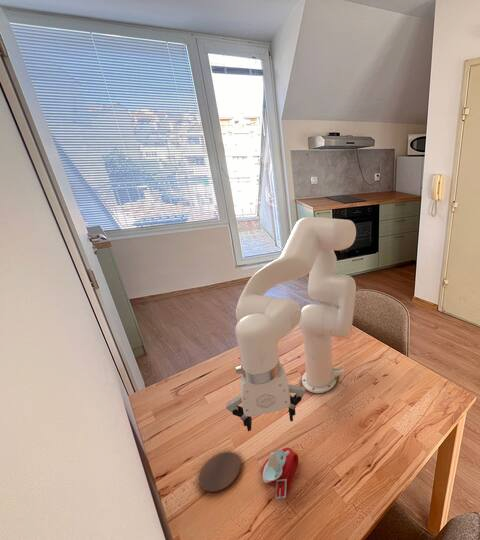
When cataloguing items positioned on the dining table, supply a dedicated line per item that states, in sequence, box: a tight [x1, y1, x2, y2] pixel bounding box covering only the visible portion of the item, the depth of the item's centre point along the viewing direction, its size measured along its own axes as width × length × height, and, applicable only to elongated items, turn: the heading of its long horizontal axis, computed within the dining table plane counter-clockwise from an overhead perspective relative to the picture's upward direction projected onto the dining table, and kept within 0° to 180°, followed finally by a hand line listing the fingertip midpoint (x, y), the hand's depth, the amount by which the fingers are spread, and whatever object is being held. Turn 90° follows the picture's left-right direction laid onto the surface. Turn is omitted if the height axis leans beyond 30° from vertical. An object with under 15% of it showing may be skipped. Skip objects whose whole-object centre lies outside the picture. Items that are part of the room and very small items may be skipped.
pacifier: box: [262, 449, 286, 484], centre depth 74 cm, size 7×6×6 cm
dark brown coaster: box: [198, 451, 242, 494], centre depth 78 cm, size 10×10×1 cm
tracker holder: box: [261, 447, 300, 500], centre depth 77 cm, size 12×4×10 cm
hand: (271, 420), depth 71 cm, fingers open, 9 cm apart
